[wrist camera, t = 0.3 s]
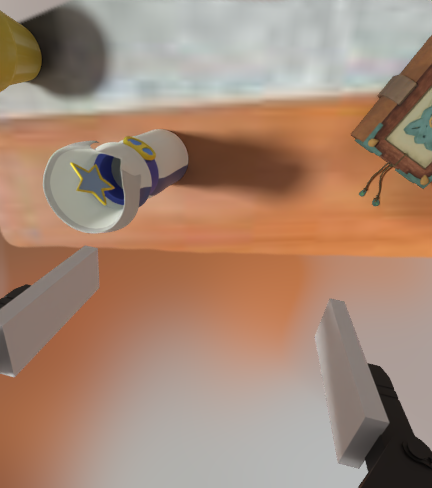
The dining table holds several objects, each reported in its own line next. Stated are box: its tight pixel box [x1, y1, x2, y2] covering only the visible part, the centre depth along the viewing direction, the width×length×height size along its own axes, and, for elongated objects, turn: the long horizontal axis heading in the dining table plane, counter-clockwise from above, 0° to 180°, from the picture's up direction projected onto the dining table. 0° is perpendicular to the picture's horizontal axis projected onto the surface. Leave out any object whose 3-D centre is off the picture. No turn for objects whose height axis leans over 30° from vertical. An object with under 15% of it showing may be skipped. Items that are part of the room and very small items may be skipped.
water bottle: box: [43, 129, 188, 233], centre depth 30 cm, size 8×8×25 cm
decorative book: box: [351, 35, 432, 206], centre depth 34 cm, size 13×18×5 cm
